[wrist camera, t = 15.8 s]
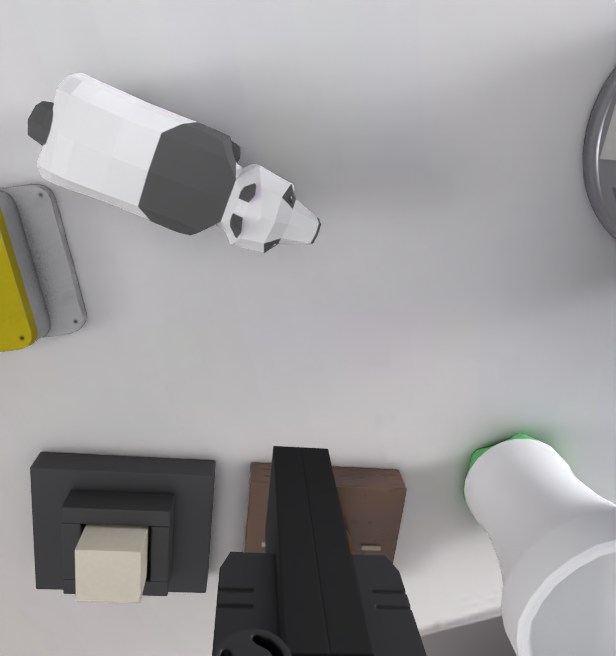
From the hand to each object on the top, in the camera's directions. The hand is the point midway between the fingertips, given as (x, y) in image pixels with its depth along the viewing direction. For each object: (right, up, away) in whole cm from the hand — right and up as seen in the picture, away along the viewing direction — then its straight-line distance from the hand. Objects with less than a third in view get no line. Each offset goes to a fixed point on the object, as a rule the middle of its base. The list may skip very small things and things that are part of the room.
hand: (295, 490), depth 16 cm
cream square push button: (-12, -10, +22) cm, 28 cm away
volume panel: (+1, -10, +27) cm, 29 cm away
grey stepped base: (-13, -9, +26) cm, 30 cm away
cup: (+15, -7, +28) cm, 32 cm away
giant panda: (-7, +14, +19) cm, 24 cm away
